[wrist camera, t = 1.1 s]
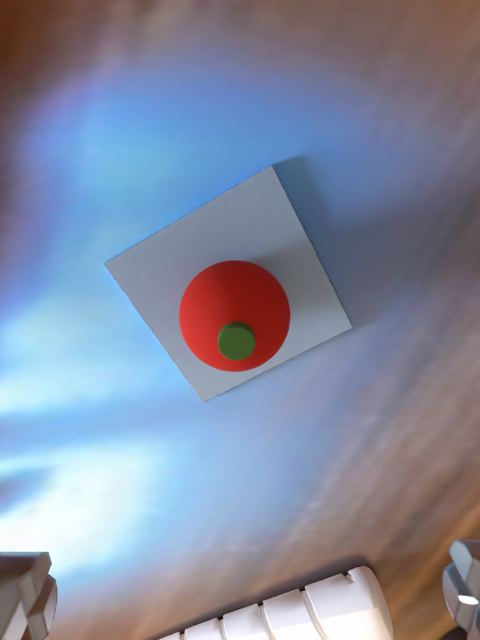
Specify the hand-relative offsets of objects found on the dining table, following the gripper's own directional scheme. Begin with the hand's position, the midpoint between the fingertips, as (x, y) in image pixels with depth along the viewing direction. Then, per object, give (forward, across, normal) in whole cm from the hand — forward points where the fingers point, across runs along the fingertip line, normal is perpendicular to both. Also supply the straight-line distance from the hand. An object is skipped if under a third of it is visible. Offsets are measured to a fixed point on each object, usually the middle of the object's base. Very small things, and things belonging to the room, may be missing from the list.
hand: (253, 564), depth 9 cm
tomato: (+16, 0, 0) cm, 16 cm away
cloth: (+16, 0, 0) cm, 16 cm away
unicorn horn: (+16, -1, +27) cm, 32 cm away
